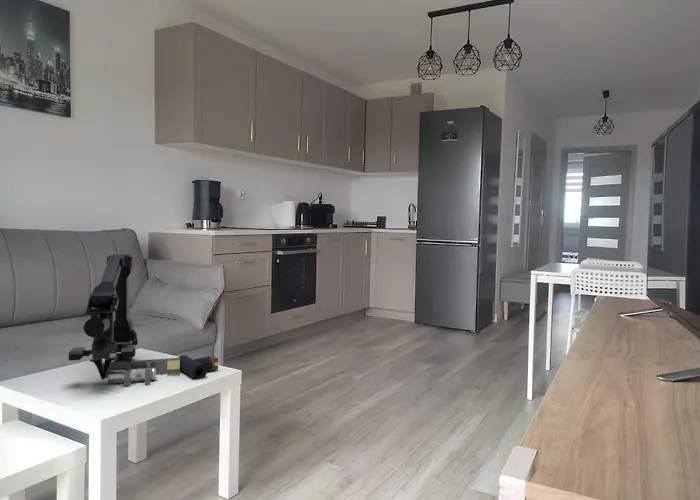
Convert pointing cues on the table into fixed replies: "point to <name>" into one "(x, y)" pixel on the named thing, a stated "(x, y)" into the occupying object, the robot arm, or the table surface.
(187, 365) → the pipe connector
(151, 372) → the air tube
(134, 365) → the gray rectangular bar
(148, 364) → the twin upright pegs
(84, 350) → the robot arm
